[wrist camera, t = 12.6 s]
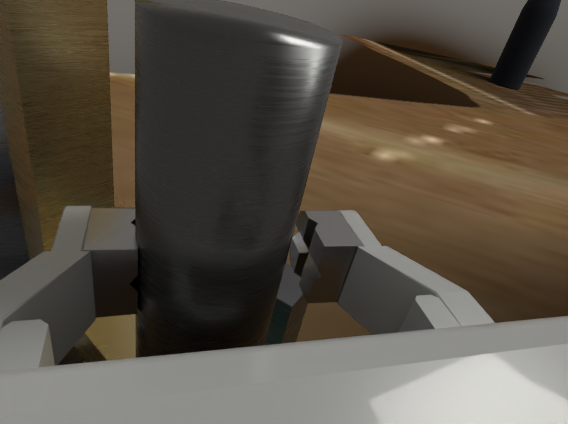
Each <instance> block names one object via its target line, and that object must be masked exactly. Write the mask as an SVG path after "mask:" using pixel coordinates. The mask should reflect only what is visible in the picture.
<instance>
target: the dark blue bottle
mask: <svg viewBox="0 0 568 424" xmlns="http://www.w3.org/2000/svg"><path fill="white" fill-rule="evenodd" d="M560 2H561V0H528V1H527V3H526V4H525V6H524V7H523V9H522V11H521V13H520V15H519V17H518V20H517V22H516V24H515V26H514V28H513V30H512V33H511V35H510V37H509V39H508V41H507V43H506V45H505V48H504V50H503V52H502V54H501V56H500V59H499V61H498V63H497V65H496V67H495V69H494V72H493V74H492V76H491V78H490V81H491V82H493V83H495V84H497V85H500V86H503V87H507V88H511V89H520V87H521V85H522V83H523V81H524V79H525V77H526V75H527V73H528V71H529V69H530V67H531V65H532V63H533V61H534V59H535V57H536V55H537V53H538V51H539V49H540V47H541V46H542V44H543V41H544V39H545V38H546V36H547V34H548V32H549V30H550V28H551V25H552V24H553V21H554V20H555V18H556V15H557V12H558V9H559V6H560Z"/></svg>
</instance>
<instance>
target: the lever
mask: <svg viewBox="0 0 568 424" xmlns="http://www.w3.org/2000/svg"><path fill="white" fill-rule="evenodd" d="M341 45H342V39H341V38H340V37H339V36H338V35H336V34H335V33H333V32H331V31H329V30H327V29H325V28H322V27H320V26H318V25H315V24H312V23H309V22H307V21H303V20H300V19H297V18H294V17H290V16H287V15H284V14H280V13H276V12H272V11H268V10H264V9H260V8H255V7H251V6H247V5H242V4H237V3H231V2H226V1H220V0H135V235H136V241H137V243H138V275H137V276H136V281H137V285H138V311H137V314H132V315H120V316H109V317H98V318H95V319H96V320H95V321H94V322H93V324H92V325H91V326H90V327H89V328H88V329H87V331H86V332H85V333H84V334H83V335H82V337H81V338H80V339H79V340H78V341H77V343H76V344H75V345H74V347H75V348H76V350H77V351H78V352H79V353H80V355H81V356H82V357H83V359H84V360H85V361H86V363H87V362H98V361H108V360H118V359H129V358H139V357H149V356H160V355H170V354H180V353H191V352H201V351H211V350H221V349H232V348H242V347H252V346H262V345H265V341H266V337H267V333H268V330H269V326H270V322H271V318H272V314H273V310H274V306H275V302H276V298H277V295H278V291H279V287H280V283H281V279H282V275H283V271H284V267H285V263H286V259H287V256H288V252H289V248H290V244H291V240H292V236H293V232H294V228H295V224H296V221H297V217H298V213H299V209H300V205H301V201H302V197H303V193H304V189H305V186H306V182H307V178H308V174H309V170H310V166H311V162H312V158H313V154H314V151H315V147H316V143H317V139H318V135H319V131H320V127H321V123H322V119H323V116H324V112H325V108H326V104H327V100H328V96H329V92H330V88H331V84H332V80H333V77H334V73H335V69H336V65H337V61H338V57H339V53H340V49H341ZM0 103H1V108H2V114H3V119H4V125H5V130H6V135H7V141H8V146H9V152H10V157H11V163H12V168H13V174H14V179H15V184H16V190H17V195H18V201H19V206H20V212H21V217H22V223H23V228H24V233H25V239H26V244H27V250H28V255H29V261H30V260H32V259H33V258H35V257H36V256H38V255H39V254H41V253H42V252H45V251H51V250H52V247H53V244H54V240H55V237H56V234H57V230H58V227H59V223H60V220H61V217H62V213H63V210H64V208H65V207H66V206H91V207H92V206H105V207H114V186H113V158H112V129H111V100H110V72H109V43H108V14H107V0H0Z"/></svg>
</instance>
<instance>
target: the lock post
mask: <svg viewBox="0 0 568 424" xmlns="http://www.w3.org/2000/svg"><path fill="white" fill-rule="evenodd" d="M27 262H29V255H28V250H27V244H26V239H25V233H24V228H23V223H22V217H21V212H20V206H19V201H18V195H17V190H16V184H15V179H14V174H13V168H12V163H11V157H10V152H9V146H8V141H7V135H6V130H5V125H4V119H3V114H2V108H1V103H0V280H1V279H3V278H4V277H6V276H7V275H9V274H10V273H12V272H13V271H15V270H16V269H18V268H19V267H21V266H23V265H24V264H26V263H27ZM300 279H301V277H300V276H298V275H297V274H295V273H294V271H293V269H292V267H291V266H290V265H288V264H286V263H285V267H284V271H283V275H282V279H281V283H280V287H279V291H278V295H277V298H276V302H275V306H274V310H273V314H272V318H271V322H270V326H269V330H268V333H267V337H266V341H265V345H272V344H283V343H293V342H296V339H297V336H298V333H299V330H300V326H301V323H302V320H303V317H304V314H305V311H306V307H307V304H308V303H307V302H306V300H305V298H304V295H303V293H302V291H301V288H300V286H299V282H300ZM83 360H84V359H83V357H82V356H81V355H80V353H79V352H78V351H77V350H76V348H75V347H74V346H73V347H72V348H71V350H70V351H69V352H68V353H67V354H66V356H65V357H64V358H63V359H62V360H61V362H60V363H59V364H58V365H66V364H77V363H80V362H82V361H83Z"/></svg>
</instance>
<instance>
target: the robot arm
mask: <svg viewBox="0 0 568 424" xmlns="http://www.w3.org/2000/svg"><path fill="white" fill-rule="evenodd" d="M296 226H297V228H298V230H299V232H298V233H297V234H296V235H295V236H293V237H292V240H291V245H290V262H291V266H292V269H293V271H294V273H295V274H297V275H298V276H300V277H301V279H300V282H299V286H300V288H301V291H302V293H303V295H304V298H305V300H306V302H307V303H326V302H338V303H337V304H338V305H340V306H341V307H342V308H343V309H344V310H345V311H346V312H347V313H349V314H350V315H351V316H352V317H353V318H354V319H355V320H357V321H358V322H359V323H360V324H361V325H362V326H363V327H365V328H366V329H367V330H368V331H369V332H370V333H371V334H373V335H365V336H355V337H344V338H334V339H323V340H313V341H303V342H293V343H283V344H272V345H262V346H252V347H242V348H232V349H221V350H211V351H201V352H191V353H180V354H170V355H160V356H149V357H139V358H129V359H118V360H108V361H98V362H87V363H77V364H66V365H58V364H59V363H60V362H61V360H62V359H63V358H64V357H65V356H66V354H67V353H68V352H69V351H70V350H71V348H72V347H73V346H74V345H75V344H76V343H77V341H78V340H79V339H80V338H81V337H82V335H83V334H84V333H85V332H86V331H87V329H88V328H89V327H90V326H91V325H92V324H93V322H94V321H95V320H96V319H95V318H98V317H109V316H120V315H132V314H137V311H138V285H137V281H136V276H137V275H138V243H137V241H136V235H135V208H133V207H105V206H92V207H91V206H66V207H65V208H64V210H63V213H62V217H61V220H60V223H59V227H58V230H57V234H56V237H55V240H54V244H53V247H52V250H51V251H45V252H42V253H41V254H39V255H38V256H36V257H35V258H33V259H32V260H30V261H29V262H27V263H26V264H24V265H23V266H21V267H19V268H18V269H16V270H15V271H13V272H12V273H10V274H9V275H7V276H6V277H4V278H3V279H1V280H0V424H568V316H562V317H551V318H541V319H530V320H520V321H510V322H499V323H495V322H494V321H493V320H492V319H491V318H490V316H489V315H488V314H487V313H486V312H485V311H484V309H483V308H482V307H481V306H480V305H479V304H478V302H477V301H476V300H475V299H474V298H473V297H472V295H471V294H470V293H469V292H468V291H466V290H465V289H463V288H461V287H459V286H457V285H456V284H454V283H452V282H450V281H448V280H447V279H445V278H443V277H441V276H440V275H438V274H436V273H434V272H432V271H431V270H429V269H427V268H425V267H423V266H422V265H420V264H418V263H416V262H414V261H413V260H411V259H409V258H407V257H406V256H404V255H402V254H400V253H398V252H397V251H395V250H393V249H391V248H389V247H388V246H381V244H380V243H379V242H378V240H377V239H376V237H375V236H374V235H373V233H372V232H371V231H370V229H369V228H368V226H367V225H366V224H365V222H364V221H363V220H362V218H361V217H360V215H359V214H358V213H357V212H356V211H354V210H336V211H300V213H299V215H298V217H297V221H296Z"/></svg>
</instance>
